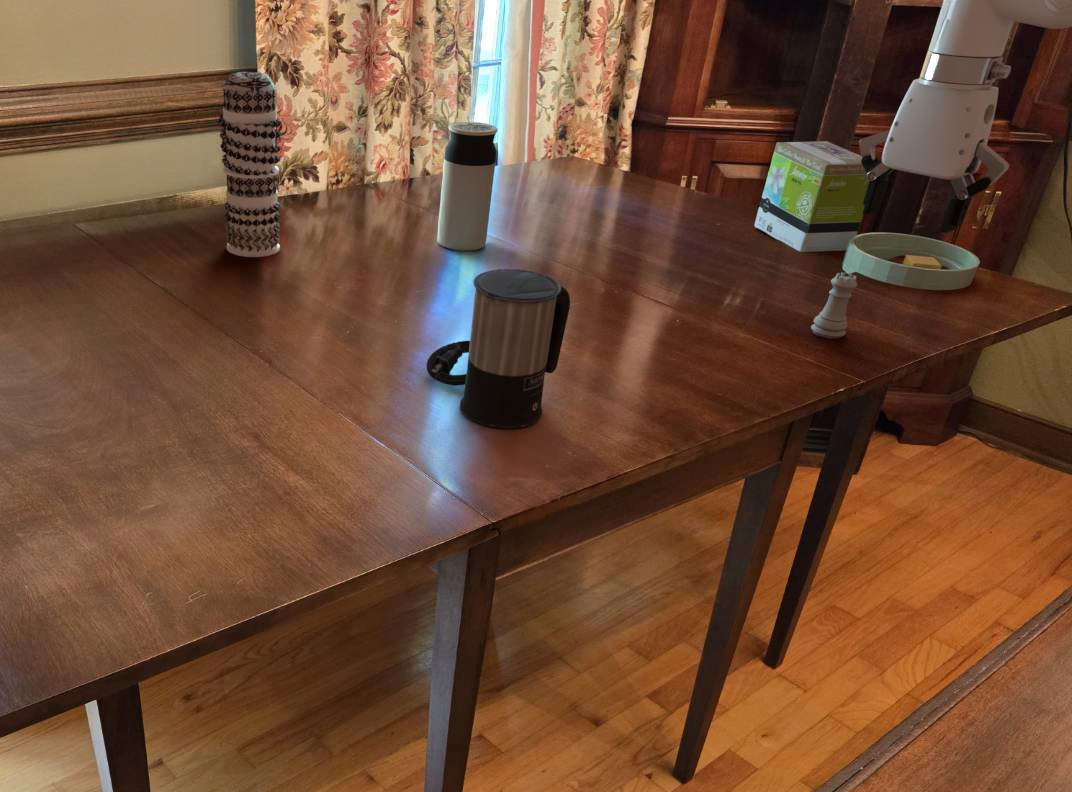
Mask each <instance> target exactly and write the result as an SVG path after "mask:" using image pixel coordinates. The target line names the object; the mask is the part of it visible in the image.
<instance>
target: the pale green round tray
mask: <svg viewBox="0 0 1072 792" xmlns="http://www.w3.org/2000/svg"><path fill="white" fill-rule="evenodd" d="M906 255H913V256H924V257H934V258H935V259H936V260H937V261H938V262H939V263H940V264H941V265H942V267H945V268H946V269H941V270H940V269H926V268H919V267H912V266H907V265H903V263H902V264H901V263H898V262H892V261H890V260H892V259H895V258H897V257H901V256H902V257H906ZM980 264H981V261H980V259H979V257H978V256H977V255H976V254H975V253H973V252H972V251H969V250H967V249H965V248H963V247H961V246H958V245H956V244H952V243H949V242H945V241H942V240H938V239H935V238H930V237H927V236H926V237H925V236H921V235H915V234H914V235H913V234H907V233H897V232H867V233H860V234H857V235H856V236H854V237H853V238H851V239H850V241H849V244H848V247H847V250H845V253H844V256H843V259H842V262H841V268H842V270H843V271H844V273H846V274H847V275H849V274H853V273H858V274H860V275H862V276H864V277H867V278H869V279H872V280H876V281H879V282H881V283H882V282H883V283H886V284H891V285H895V286H900V287H905V288H911V289H919V290H929V291H954V290H959V289H960V290H961V289H964V288H967V287H969V286H971V284H972V283H973V281H974V280H975V279H974V278H975V276H976V274H977V271H978V270H979V267H980Z"/></svg>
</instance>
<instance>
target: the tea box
mask: <svg viewBox="0 0 1072 792" xmlns="http://www.w3.org/2000/svg"><path fill="white" fill-rule="evenodd" d="M775 143H776V144H775V147H774V151H773V153H772V158H771V162H770V166H769V170H768V173H767V176H766V180H765V185H764V188H763V191H762V195H761V199H760V203H759V207H758V209H757V213H756V217H755V221H754V228H756V229H758V230H760V231H762V232H764V233H766V234H767V235H768V236H770V237H771V238H773V239H775V240H776V241H780V242H782V243H784V244H785V245H787V246H788V247H791V248H793V249H794V250H796V251H798V252H800V253H808V252H809V253H810V252H811V253H812V252H833V251H834V252H837V251H838V252H839V251H840V252H841V251H843V252H844V251H846V250H847V247H848V244H849V241H850V239H851V238H853V237H854V236H857V235H858V231H859V229H860V226H861V223H862V220H863V217H864V214H863V210H864V207H865V205H863V201H864V198H865V194H866V191H867V188H868V185H869V180H868V179H867V173H866V171H865V169H864V167H863V165H862V163H861V160H862V156H861V154H858V153H855V152H853V151H851V150H848V149H846V148H843V147H841V146H839V145H837V144H835V143H832V142H829V141H828V140H824V141H823V140H822V141H818V140H817V141H785V142H784V141H782V142H780V141H777V142H775Z"/></svg>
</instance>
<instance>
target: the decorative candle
mask: <svg viewBox="0 0 1072 792" xmlns="http://www.w3.org/2000/svg"><path fill="white" fill-rule="evenodd" d="M220 87H221V88H222V91H223V108H222V114H220V115H219V118H218V119H217V121H218V123H219V126H221V128H222V129H221V130H220V133H219V138H220V139H221V144H220V149H221V151H222V152H223V153H224V154H223V155H222V159H221V162H222V164H223V166H224V167H223V173H224V174H225V175H226V191H225V197H226V198H225V199H226V202H225V203H224V205H223V206H224V208H225V210H226V213H225V214H224V218H225V220H227V221H228V222H227V223H226V224H225V225H224V229H225V231H226V235H225V240H226V250H227V252H229V253H230V254H232V255H235V256H238V257H244V258H263V257H269V256H272V255H275V254H277V253H279V252H280V249H281V247H280V246H281V245H280V244H279V243H280V240H281V236H280V231H281V226H280V223H279V222H278V221H279V220H280V218H281V215H280V213H279V210H280V209H281V204H280V203H279V202H278V200H279V199H278V197H279V196H278V193H279V192H278V190H277V175H279V174H280V168H279V166H277V164H278V163H280V162H281V157H280V156H279V155H277V153H279V152H280V151H281V146H280V145H279V144H277V143H276V140H278V139H279V138H280V137H281V136H282V132H281V131H280V130H279V129H278V128H279V127H281V126H282V123H283V121H282V120H281V119H279V118H278V109H277V107H276V89H277V88H278V85H276V84H274V83H273V81H272V79H271V77H270V76H269V75H268V74H265V73H263V72H256V71H238V72H233V73H230V74H229V75H228V77H227V79H226V80H225V82H224V83H222V84H221V85H220Z"/></svg>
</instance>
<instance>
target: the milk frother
mask: <svg viewBox="0 0 1072 792" xmlns="http://www.w3.org/2000/svg"><path fill="white" fill-rule="evenodd" d="M473 286H474V288H475V291H474V300H473V310H472V320H471V329H470V336H469V337H470V339H469V340H462V341H456V342H452V343H448V344H446V345H443V346H441V347H439V348H437V349H436V350H434V351H433V352H432V353H431V354H430V355H429V357H428V359H427V362H426V371H427V374H428V375H429V376H430V377H431V378H432V379H433V380H435V381H437V382H439V383H441V384H444V385H449V386H452V387H453V386H454V387H455V386H457V387H458V386H464V388H463V394H462V397H461V399H460V402H459V409H460V411H461V413H462V414H463V415H464V416H465V417H466V418H468V419H469V420H471V421H473V422H475V423H477V424H480V425H483V426H486V427H491V428H492V427H493V428H496V429H497V428H499V429H518V428H525V427H528V426H531V425H533V424H535V423H537V421H539V420H540V418H541V417H542V416H543V415H542V414H543V408H542V401H543V391H544V384H545V375H546V374H553V373H554V372H555V371H556V369H557V367H558V364H559V359H560V355H561V349H562V346H563V341H564V336H565V332H566V327H567V323H568V317H569V313H570V308H571V297H570V293H569V291H568V290H567V288H566V287H564V286H562V285H561V284H560V283H559V282H558V281H557V280H556V279H555V278H554V277H552V276H548V275H545V274H543V273H541V272H537V271H533V270H526V269H519V268H516V269H514V268H512V269H511V268H502V269H501V268H498V269H493V270H487V271H483V272H481V273H479V274H478V275H476V276H475V277H474V278H473ZM467 353H468V357H467V367H466V373H463V374H451V371H452V370H453V369H454V367H455V365H456V364H458V363H459V359H460V358H461V357H462V356H463V354H467Z"/></svg>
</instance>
